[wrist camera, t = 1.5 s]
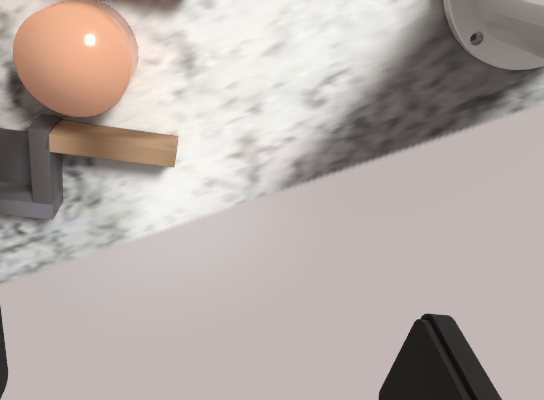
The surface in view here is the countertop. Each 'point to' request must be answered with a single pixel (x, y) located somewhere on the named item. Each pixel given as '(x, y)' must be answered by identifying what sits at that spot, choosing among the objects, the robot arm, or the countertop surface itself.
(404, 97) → the countertop surface
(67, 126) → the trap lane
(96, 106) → the short salmon cylinder
